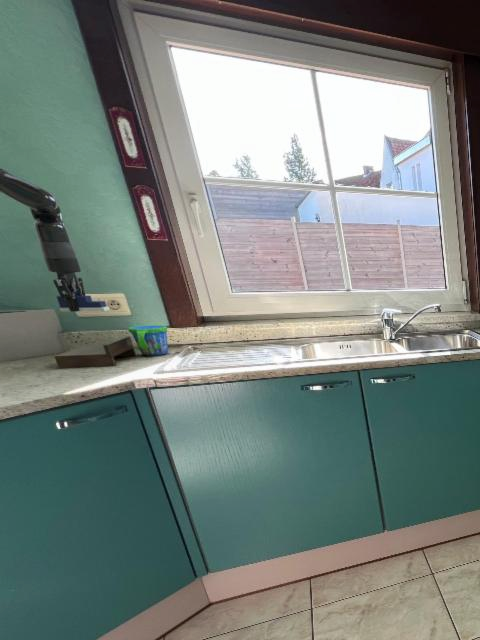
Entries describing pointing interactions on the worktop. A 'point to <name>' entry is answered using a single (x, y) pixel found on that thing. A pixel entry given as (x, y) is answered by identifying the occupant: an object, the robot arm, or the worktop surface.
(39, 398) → the worktop surface
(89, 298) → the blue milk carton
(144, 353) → the snack cup
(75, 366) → the wooden display stand
